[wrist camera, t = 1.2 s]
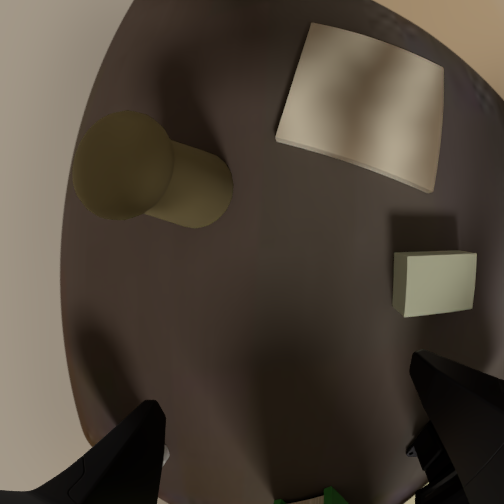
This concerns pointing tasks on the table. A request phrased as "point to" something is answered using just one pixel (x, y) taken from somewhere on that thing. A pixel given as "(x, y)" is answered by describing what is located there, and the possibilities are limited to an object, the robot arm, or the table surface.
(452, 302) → the soap bar
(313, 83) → the board
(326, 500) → the hardback book
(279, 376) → the table surface
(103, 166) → the cork
